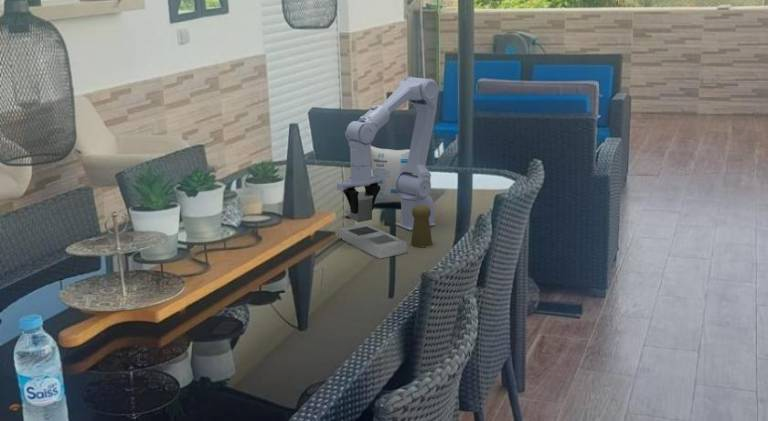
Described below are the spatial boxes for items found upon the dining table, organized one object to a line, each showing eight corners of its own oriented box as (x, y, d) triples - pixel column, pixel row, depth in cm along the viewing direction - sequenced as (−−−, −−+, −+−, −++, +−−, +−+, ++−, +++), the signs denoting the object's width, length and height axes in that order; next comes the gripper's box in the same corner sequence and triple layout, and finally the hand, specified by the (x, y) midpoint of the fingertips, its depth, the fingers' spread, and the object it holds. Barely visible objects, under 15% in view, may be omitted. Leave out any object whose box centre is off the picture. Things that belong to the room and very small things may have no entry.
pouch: (423, 211, 288) (423, 149, 282) (365, 208, 293) (364, 147, 287) (429, 204, 295) (428, 144, 289) (372, 201, 300) (371, 142, 295)
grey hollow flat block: (365, 233, 266) (365, 223, 265) (407, 252, 248) (407, 242, 248) (338, 238, 262) (338, 228, 261) (379, 258, 244) (379, 248, 243)
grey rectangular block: (363, 215, 261) (364, 191, 259) (372, 219, 257) (373, 195, 255) (349, 217, 259) (349, 193, 256) (358, 222, 255) (358, 197, 252)
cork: (430, 247, 252) (430, 209, 249) (409, 246, 253) (408, 208, 250) (433, 241, 258) (433, 203, 255) (412, 240, 259) (412, 203, 256)
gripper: (375, 158, 260) (376, 204, 264) (331, 165, 253) (332, 212, 256) (388, 162, 254) (389, 209, 258) (343, 170, 247) (345, 218, 251)
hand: (362, 211), depth 257 cm, fingers closed on grey rectangular block, 5 cm apart
